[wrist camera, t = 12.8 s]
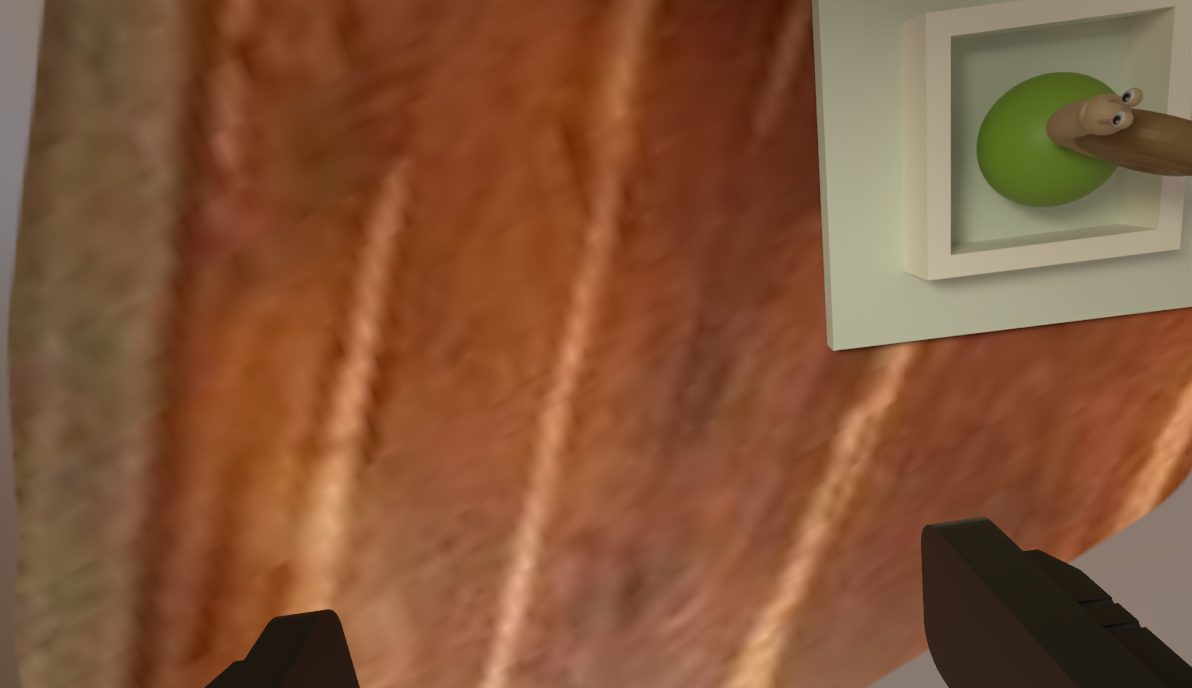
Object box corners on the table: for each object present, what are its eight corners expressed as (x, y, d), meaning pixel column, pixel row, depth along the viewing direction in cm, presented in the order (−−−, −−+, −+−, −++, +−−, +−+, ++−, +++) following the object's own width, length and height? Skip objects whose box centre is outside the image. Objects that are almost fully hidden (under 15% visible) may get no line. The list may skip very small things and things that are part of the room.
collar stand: (809, -49, 32) (835, -72, 29) (1226, -106, 32) (1302, -136, 28) (827, 345, 37) (851, 365, 33) (1190, 300, 36) (1252, 316, 33)
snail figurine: (960, 57, 32) (1166, 8, 21) (1093, 96, 33) (1368, 70, 21) (915, 179, 34) (1085, 197, 22) (1043, 215, 34) (1276, 251, 23)
